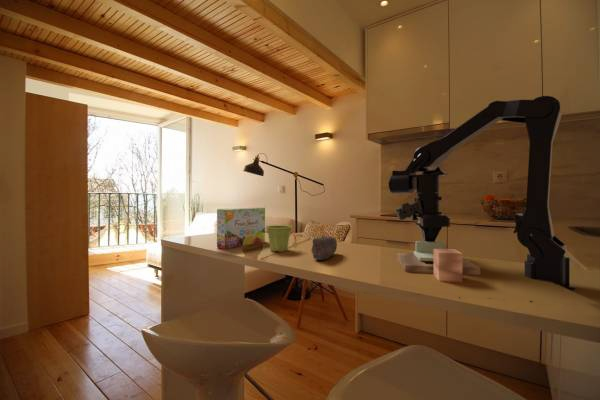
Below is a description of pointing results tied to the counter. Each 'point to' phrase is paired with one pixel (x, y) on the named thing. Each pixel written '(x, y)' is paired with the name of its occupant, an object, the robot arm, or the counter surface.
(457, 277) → the block
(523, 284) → the counter surface
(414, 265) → the puzzle board
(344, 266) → the counter surface
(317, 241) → the perforated stone tool
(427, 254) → the slide cover
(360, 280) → the counter surface
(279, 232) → the plant pot
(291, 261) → the counter surface
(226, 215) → the snack box
